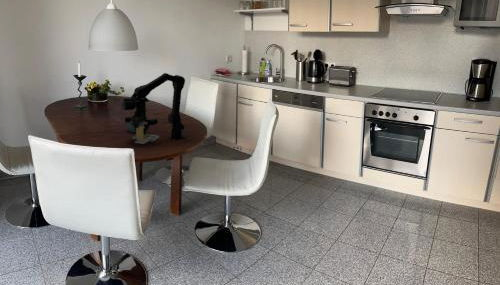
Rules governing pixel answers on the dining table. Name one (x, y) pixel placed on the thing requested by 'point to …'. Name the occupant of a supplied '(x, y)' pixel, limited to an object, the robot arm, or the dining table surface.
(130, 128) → the flower pot
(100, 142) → the dining table surface
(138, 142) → the pad
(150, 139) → the grey flat frame
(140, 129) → the brown wooden block
